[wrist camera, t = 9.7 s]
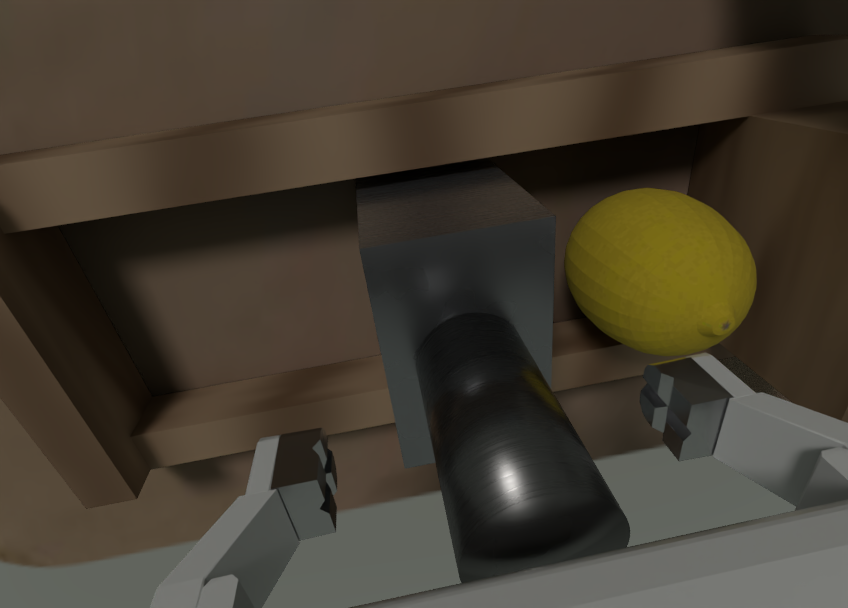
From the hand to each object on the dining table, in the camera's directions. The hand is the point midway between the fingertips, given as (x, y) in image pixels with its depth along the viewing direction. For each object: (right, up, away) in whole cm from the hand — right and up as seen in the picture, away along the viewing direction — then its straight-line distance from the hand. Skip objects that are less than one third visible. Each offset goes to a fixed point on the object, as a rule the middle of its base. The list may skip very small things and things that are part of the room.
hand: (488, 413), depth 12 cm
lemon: (+6, +6, +9) cm, 12 cm away
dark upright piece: (-1, +5, +8) cm, 9 cm away
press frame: (-1, +5, +8) cm, 10 cm away
